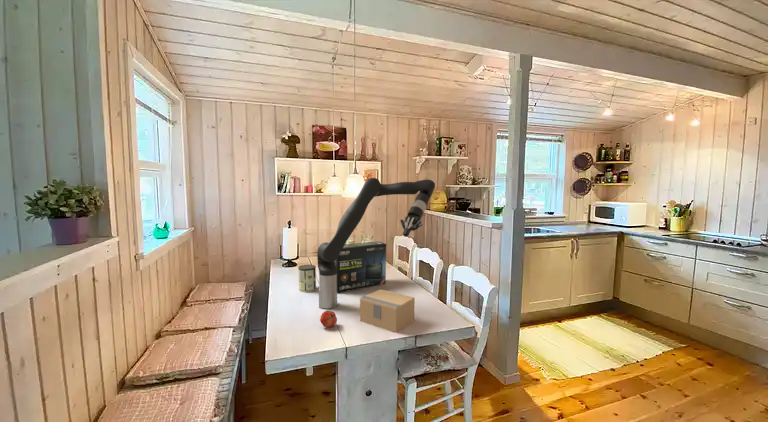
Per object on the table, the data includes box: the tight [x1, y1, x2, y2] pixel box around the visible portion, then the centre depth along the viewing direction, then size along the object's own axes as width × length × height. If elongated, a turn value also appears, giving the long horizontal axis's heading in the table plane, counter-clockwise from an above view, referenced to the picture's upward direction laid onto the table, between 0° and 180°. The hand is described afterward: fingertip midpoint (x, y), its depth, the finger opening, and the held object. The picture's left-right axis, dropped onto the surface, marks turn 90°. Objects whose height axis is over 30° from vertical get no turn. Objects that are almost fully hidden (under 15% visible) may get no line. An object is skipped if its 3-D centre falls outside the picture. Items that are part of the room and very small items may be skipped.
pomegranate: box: [319, 310, 338, 329], centre depth 147 cm, size 7×7×10 cm
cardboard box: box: [359, 300, 415, 333], centre depth 153 cm, size 16×20×10 cm
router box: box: [334, 240, 387, 294], centre depth 204 cm, size 36×11×27 cm, turn 123°
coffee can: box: [297, 264, 317, 293], centre depth 198 cm, size 10×10×14 cm
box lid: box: [359, 288, 415, 310], centre depth 153 cm, size 16×20×1 cm
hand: (404, 235), depth 166 cm, fingers closed
